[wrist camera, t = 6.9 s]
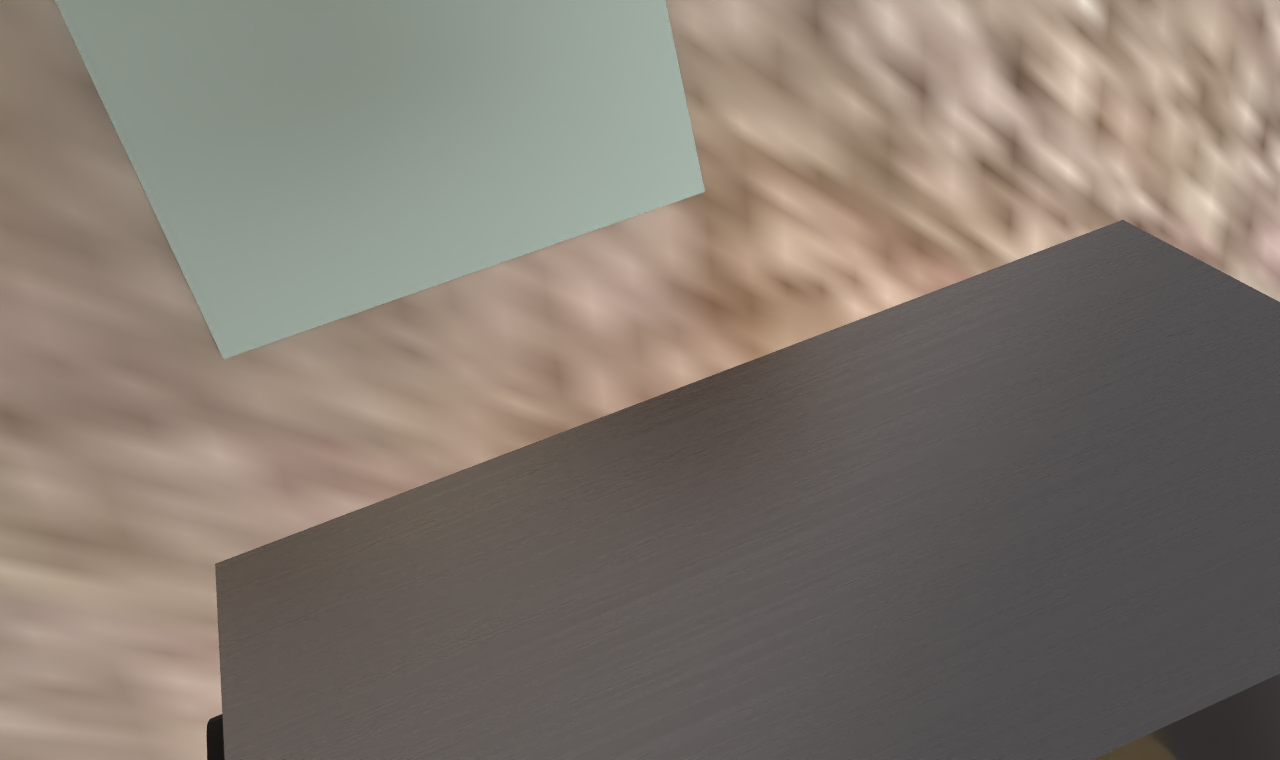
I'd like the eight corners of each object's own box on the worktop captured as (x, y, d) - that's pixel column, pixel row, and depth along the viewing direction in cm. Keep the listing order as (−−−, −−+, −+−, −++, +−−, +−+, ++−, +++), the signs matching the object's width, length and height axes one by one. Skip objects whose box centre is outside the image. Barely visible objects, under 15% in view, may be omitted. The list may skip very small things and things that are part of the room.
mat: (699, 186, 30) (705, 191, 30) (222, 351, 28) (223, 359, 28) (617, -205, 26) (623, -204, 25) (39, -39, 24) (37, -36, 23)
